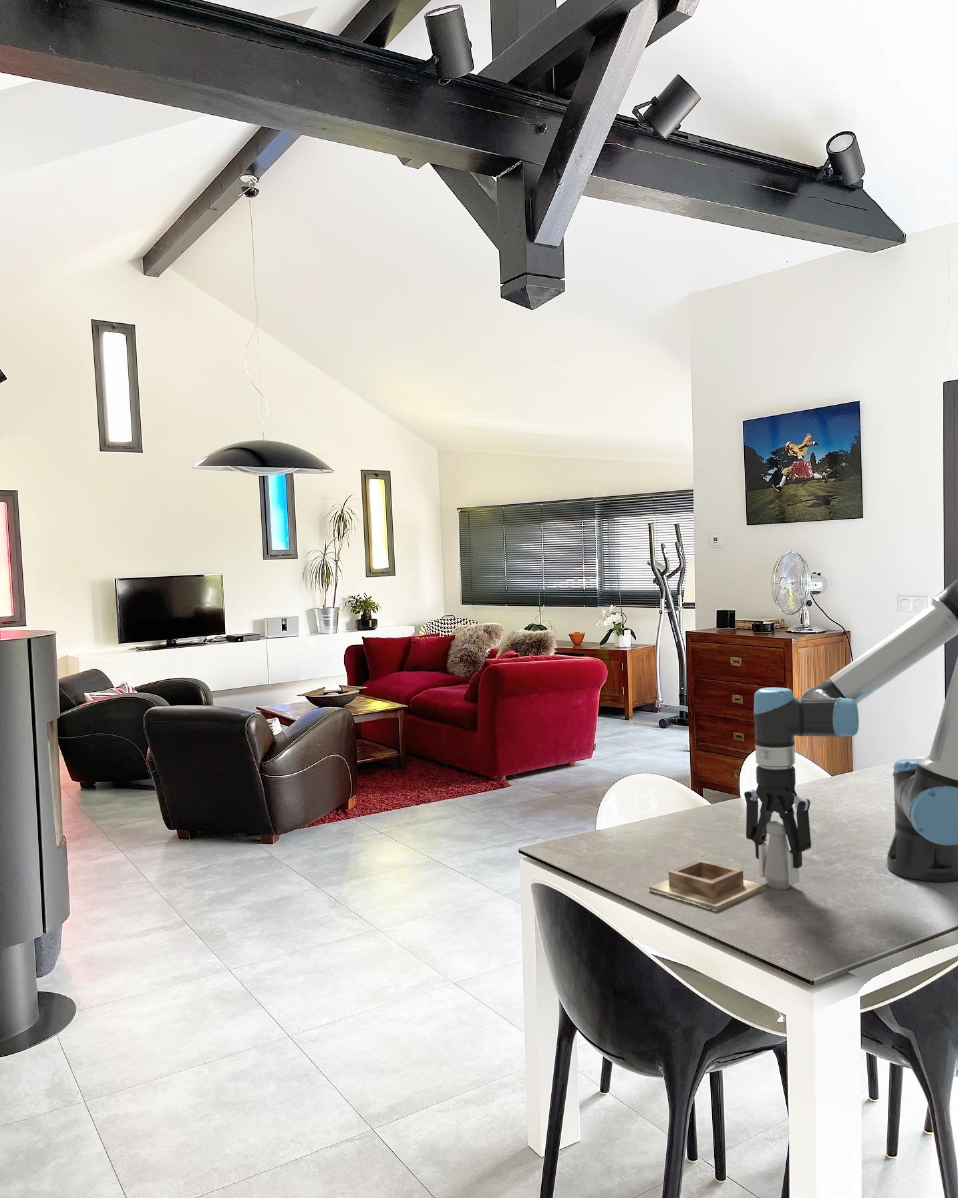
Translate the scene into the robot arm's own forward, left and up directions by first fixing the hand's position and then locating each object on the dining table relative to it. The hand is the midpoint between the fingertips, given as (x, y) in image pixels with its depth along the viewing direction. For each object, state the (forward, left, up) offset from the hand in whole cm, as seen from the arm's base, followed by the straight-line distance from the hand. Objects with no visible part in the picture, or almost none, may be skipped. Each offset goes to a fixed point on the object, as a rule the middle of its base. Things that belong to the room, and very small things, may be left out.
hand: (779, 879), depth 187 cm
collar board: (+9, +12, -1) cm, 15 cm away
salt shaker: (0, 0, -2) cm, 2 cm away
